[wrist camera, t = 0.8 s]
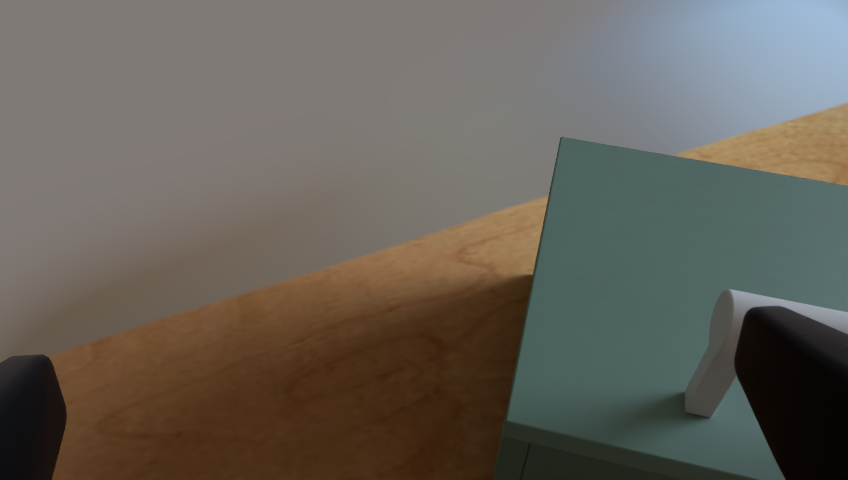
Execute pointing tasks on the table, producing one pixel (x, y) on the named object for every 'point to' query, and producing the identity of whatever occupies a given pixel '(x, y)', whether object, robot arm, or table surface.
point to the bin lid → (667, 305)
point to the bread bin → (558, 458)
